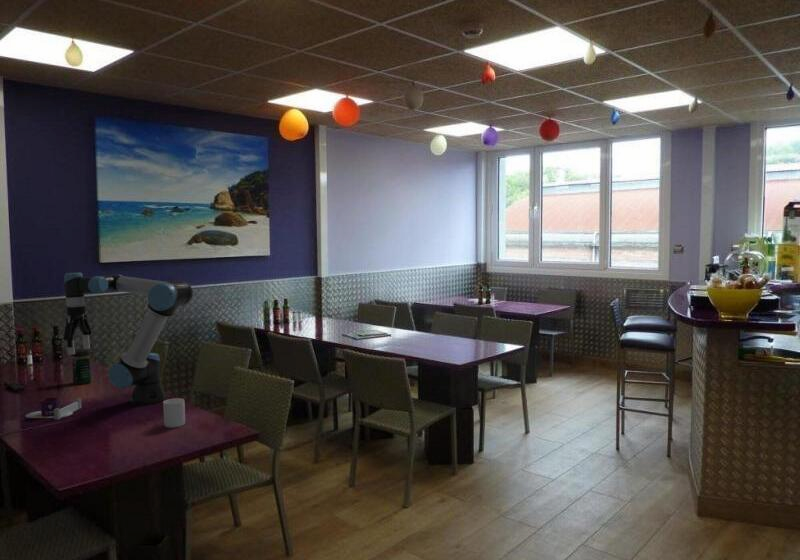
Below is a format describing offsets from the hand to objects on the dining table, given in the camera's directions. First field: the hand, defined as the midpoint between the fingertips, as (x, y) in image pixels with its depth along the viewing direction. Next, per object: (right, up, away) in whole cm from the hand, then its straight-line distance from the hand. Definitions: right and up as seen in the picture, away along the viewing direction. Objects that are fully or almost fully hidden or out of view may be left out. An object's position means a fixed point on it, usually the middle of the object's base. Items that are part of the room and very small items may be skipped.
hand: (79, 351), depth 277 cm
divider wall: (+1, -27, -11) cm, 28 cm away
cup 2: (+54, -28, -26) cm, 66 cm away
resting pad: (-7, -27, -12) cm, 30 cm away
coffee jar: (-22, -23, +44) cm, 55 cm away
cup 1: (-7, -27, -11) cm, 30 cm away
